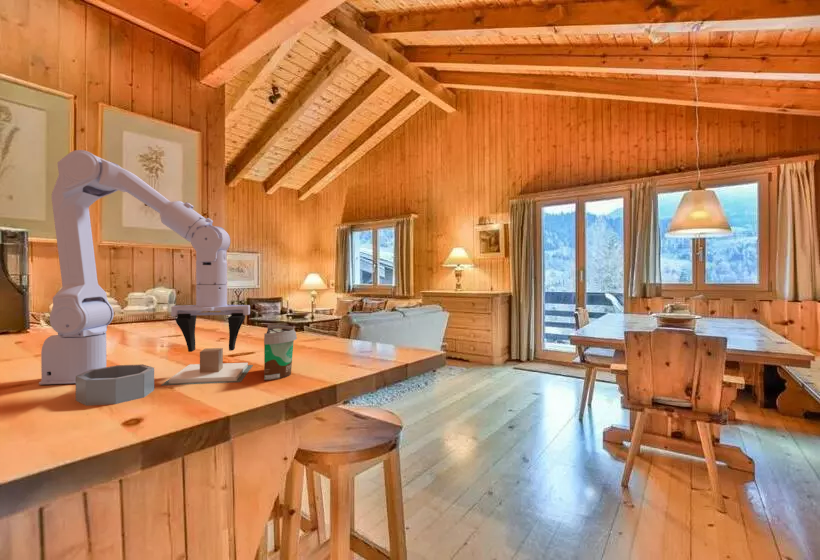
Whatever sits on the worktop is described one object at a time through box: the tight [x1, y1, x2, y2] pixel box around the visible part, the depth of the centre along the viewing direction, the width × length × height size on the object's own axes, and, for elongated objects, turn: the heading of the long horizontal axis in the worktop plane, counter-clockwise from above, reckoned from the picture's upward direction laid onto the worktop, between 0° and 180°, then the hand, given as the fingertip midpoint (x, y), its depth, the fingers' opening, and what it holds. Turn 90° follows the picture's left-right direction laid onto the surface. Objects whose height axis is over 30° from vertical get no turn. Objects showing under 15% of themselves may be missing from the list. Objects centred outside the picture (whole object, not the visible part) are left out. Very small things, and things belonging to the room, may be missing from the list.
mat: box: [161, 364, 254, 386], centre depth 83 cm, size 14×14×1 cm
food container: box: [263, 324, 298, 382], centre depth 84 cm, size 12×6×10 cm, turn 16°
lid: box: [168, 347, 249, 383], centre depth 83 cm, size 12×12×5 cm
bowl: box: [75, 363, 155, 407], centre depth 69 cm, size 10×10×4 cm
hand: (212, 350), depth 83 cm, fingers open, 7 cm apart
